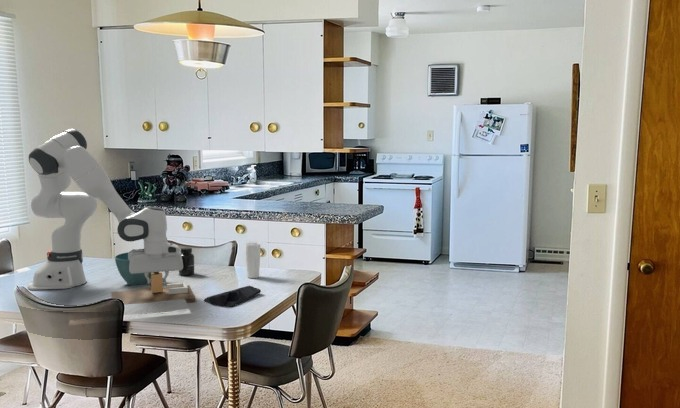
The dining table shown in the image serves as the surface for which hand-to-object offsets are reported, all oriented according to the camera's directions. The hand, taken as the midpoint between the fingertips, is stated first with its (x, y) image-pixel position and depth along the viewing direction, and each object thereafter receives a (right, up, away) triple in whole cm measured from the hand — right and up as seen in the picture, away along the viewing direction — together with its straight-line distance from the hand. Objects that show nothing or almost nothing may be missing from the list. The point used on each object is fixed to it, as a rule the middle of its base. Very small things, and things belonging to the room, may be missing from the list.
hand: (156, 282), depth 243 cm
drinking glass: (+33, -2, +32) cm, 46 cm away
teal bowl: (-14, -3, +20) cm, 25 cm away
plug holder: (+7, -4, +3) cm, 8 cm away
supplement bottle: (+3, -1, +37) cm, 37 cm away
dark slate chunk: (+31, -7, -2) cm, 31 cm away
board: (-1, -6, -3) cm, 6 cm away
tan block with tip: (0, -3, 0) cm, 3 cm away
